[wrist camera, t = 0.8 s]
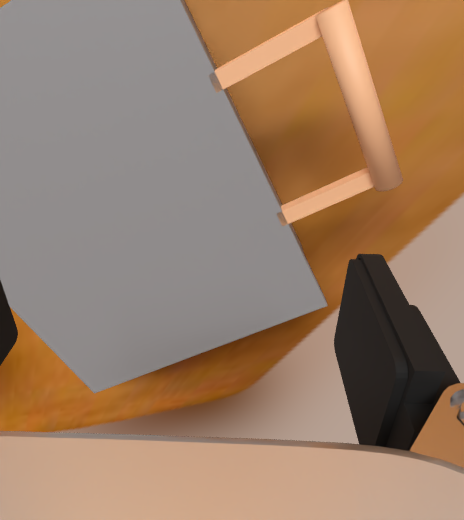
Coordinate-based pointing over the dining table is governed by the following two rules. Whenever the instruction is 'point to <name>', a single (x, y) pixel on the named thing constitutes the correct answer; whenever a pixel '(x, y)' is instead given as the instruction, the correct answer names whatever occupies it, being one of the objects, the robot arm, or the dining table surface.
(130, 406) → the dining table surface
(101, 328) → the lid
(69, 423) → the dining table surface
